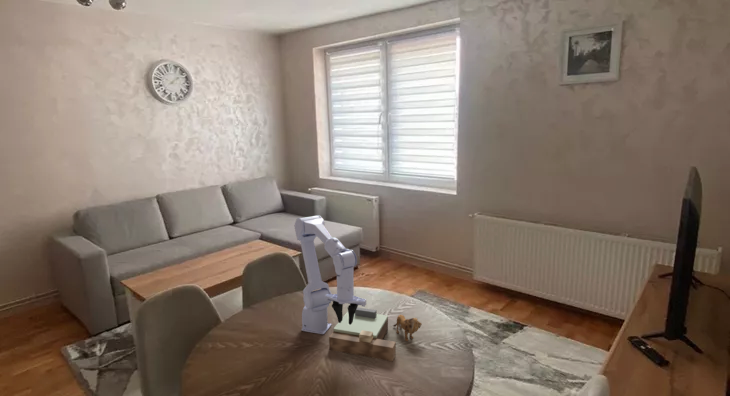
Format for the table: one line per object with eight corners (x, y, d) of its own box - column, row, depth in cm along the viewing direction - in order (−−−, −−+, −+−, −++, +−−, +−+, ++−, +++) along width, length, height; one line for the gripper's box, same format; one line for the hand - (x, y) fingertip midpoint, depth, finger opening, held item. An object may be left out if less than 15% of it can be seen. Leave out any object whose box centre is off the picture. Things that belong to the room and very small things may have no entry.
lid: (333, 331, 150) (333, 322, 150) (348, 312, 165) (348, 303, 165) (376, 338, 145) (376, 329, 145) (387, 317, 160) (388, 309, 160)
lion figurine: (423, 341, 153) (423, 318, 152) (412, 345, 150) (412, 322, 149) (398, 325, 165) (398, 304, 164) (387, 329, 162) (387, 307, 161)
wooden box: (329, 350, 148) (329, 336, 147) (348, 324, 166) (348, 312, 165) (392, 361, 141) (392, 347, 140) (405, 333, 159) (405, 320, 158)
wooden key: (359, 341, 144) (359, 334, 143) (362, 336, 147) (361, 330, 146) (370, 342, 142) (370, 336, 142) (372, 338, 145) (372, 331, 145)
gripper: (321, 287, 142) (321, 324, 144) (361, 292, 137) (361, 330, 140) (329, 279, 148) (329, 315, 151) (368, 284, 144) (368, 321, 146)
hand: (345, 322), depth 146 cm, fingers open, 3 cm apart
